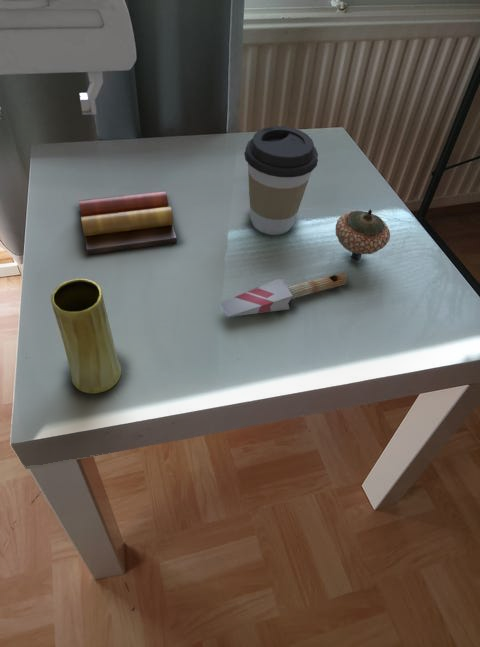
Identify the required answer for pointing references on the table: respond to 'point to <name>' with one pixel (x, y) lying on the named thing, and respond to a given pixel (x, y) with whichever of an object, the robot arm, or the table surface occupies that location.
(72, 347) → the vase
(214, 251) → the table surface
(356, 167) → the table surface
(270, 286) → the sheathed knife
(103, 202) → the rod rack
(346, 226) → the acorn
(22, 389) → the table surface
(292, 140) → the coffee cup
